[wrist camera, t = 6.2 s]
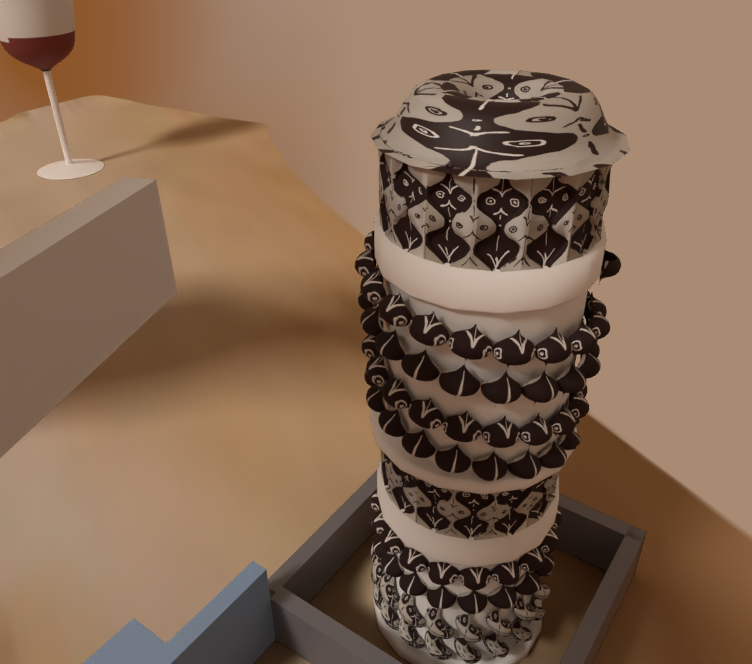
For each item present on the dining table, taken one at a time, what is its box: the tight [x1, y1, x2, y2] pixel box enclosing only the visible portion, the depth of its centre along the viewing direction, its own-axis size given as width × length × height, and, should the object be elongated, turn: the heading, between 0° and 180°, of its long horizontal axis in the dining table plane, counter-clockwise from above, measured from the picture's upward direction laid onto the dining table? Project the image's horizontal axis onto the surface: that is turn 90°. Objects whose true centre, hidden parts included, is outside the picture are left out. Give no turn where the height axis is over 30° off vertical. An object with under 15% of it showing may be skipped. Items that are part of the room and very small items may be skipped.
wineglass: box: [0, 0, 104, 180], centre depth 85 cm, size 9×10×22 cm
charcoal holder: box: [268, 471, 646, 664], centre depth 34 cm, size 14×14×3 cm
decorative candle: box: [355, 69, 630, 664], centre depth 28 cm, size 9×9×25 cm
